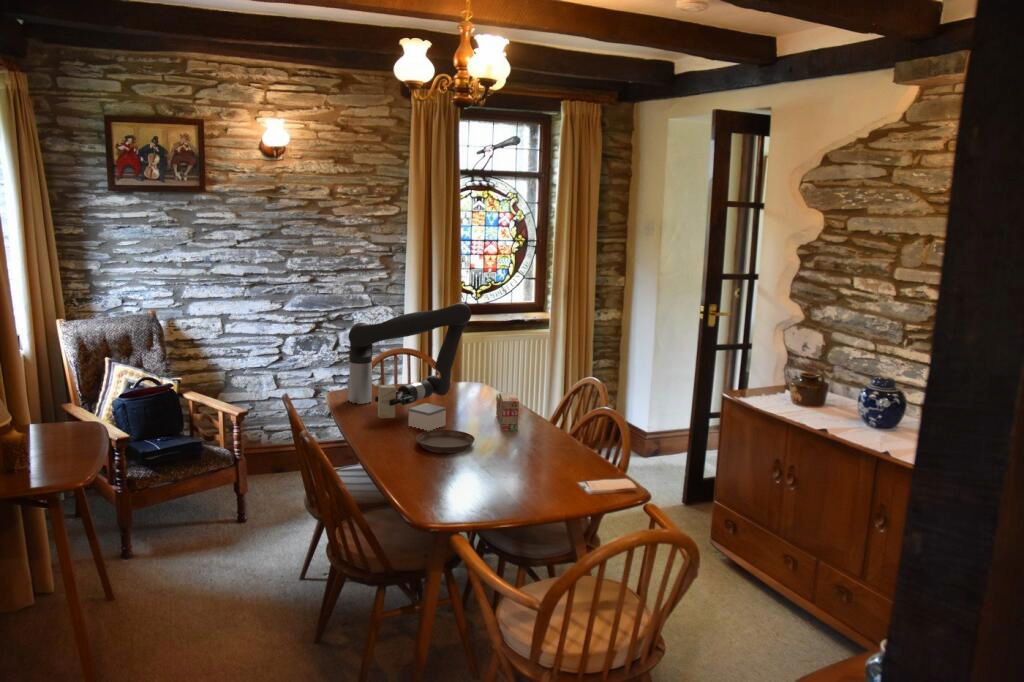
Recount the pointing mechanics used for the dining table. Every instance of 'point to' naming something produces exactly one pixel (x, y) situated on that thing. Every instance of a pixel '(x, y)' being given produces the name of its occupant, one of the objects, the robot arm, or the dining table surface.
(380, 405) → the skincare box
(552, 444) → the dining table surface
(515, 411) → the printed cardboard box
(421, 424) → the block
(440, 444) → the plant saucer
